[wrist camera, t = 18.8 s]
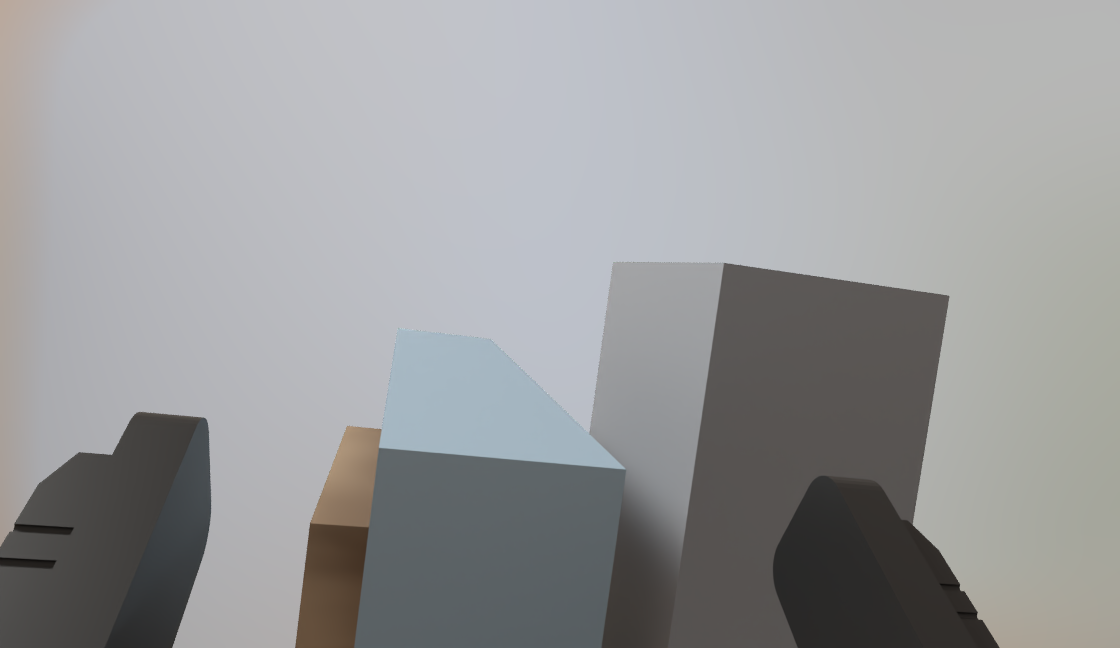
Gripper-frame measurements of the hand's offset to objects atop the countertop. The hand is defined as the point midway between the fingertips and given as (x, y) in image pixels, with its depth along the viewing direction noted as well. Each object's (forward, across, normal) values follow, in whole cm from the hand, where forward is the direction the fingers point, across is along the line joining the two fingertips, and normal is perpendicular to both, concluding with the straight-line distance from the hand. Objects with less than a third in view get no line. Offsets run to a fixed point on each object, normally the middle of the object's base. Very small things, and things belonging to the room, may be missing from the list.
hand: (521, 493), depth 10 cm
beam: (+9, 0, +10) cm, 14 cm away
